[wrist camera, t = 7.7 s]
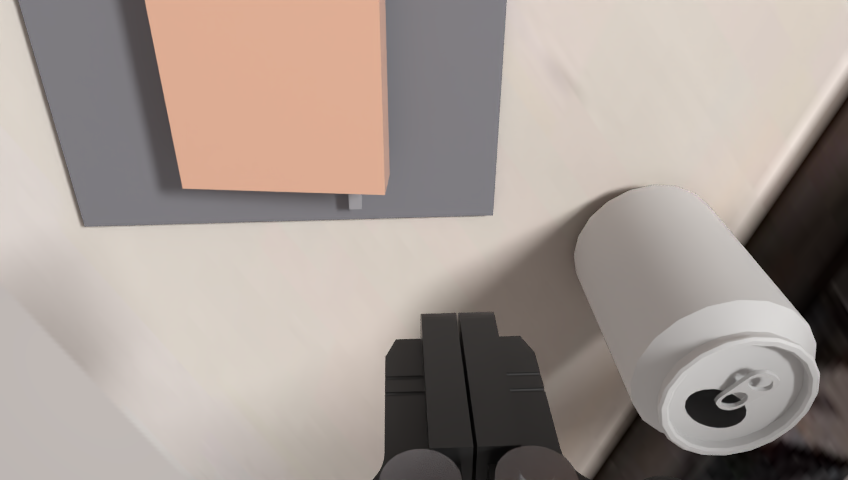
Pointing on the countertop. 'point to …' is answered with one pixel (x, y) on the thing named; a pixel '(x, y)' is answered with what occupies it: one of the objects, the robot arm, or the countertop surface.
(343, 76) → the tile
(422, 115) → the mat
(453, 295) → the countertop surface
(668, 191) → the can
